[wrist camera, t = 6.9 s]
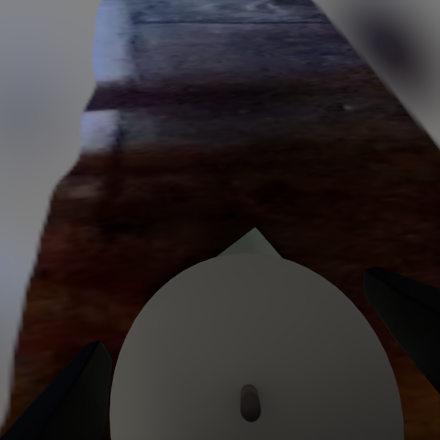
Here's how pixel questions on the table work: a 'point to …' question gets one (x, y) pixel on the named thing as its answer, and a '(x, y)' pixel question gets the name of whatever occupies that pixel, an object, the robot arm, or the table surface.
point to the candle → (253, 360)
